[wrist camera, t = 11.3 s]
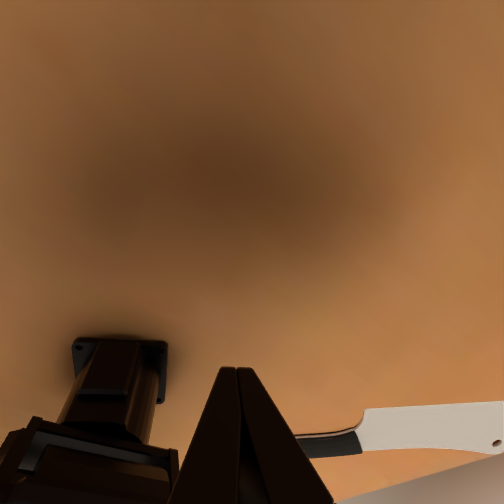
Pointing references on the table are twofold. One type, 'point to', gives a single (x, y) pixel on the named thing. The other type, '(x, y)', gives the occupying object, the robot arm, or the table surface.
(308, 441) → the kitchen cleaver
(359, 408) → the table surface
